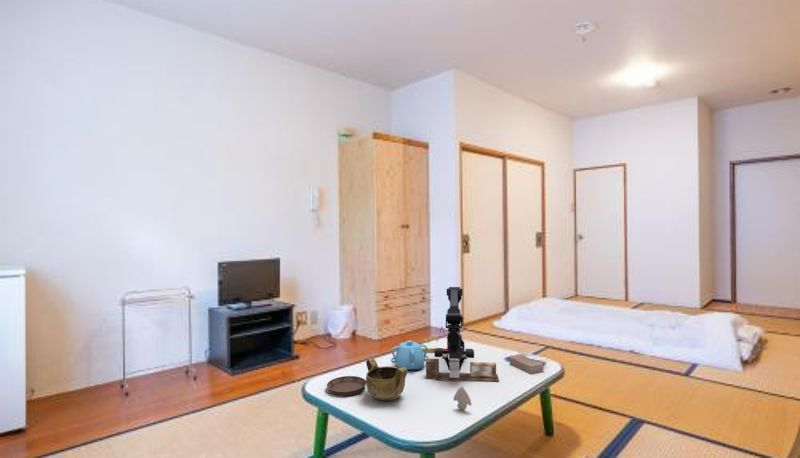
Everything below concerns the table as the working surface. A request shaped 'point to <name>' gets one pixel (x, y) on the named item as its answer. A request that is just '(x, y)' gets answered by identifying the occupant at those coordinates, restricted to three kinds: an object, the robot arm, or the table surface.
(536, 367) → the brick
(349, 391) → the plant saucer
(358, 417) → the table surface
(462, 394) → the arrowhead
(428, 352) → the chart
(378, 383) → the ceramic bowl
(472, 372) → the wall mounted shelf tray
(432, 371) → the wooden shelf
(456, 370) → the white chair-shaped block
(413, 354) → the decorative pot
